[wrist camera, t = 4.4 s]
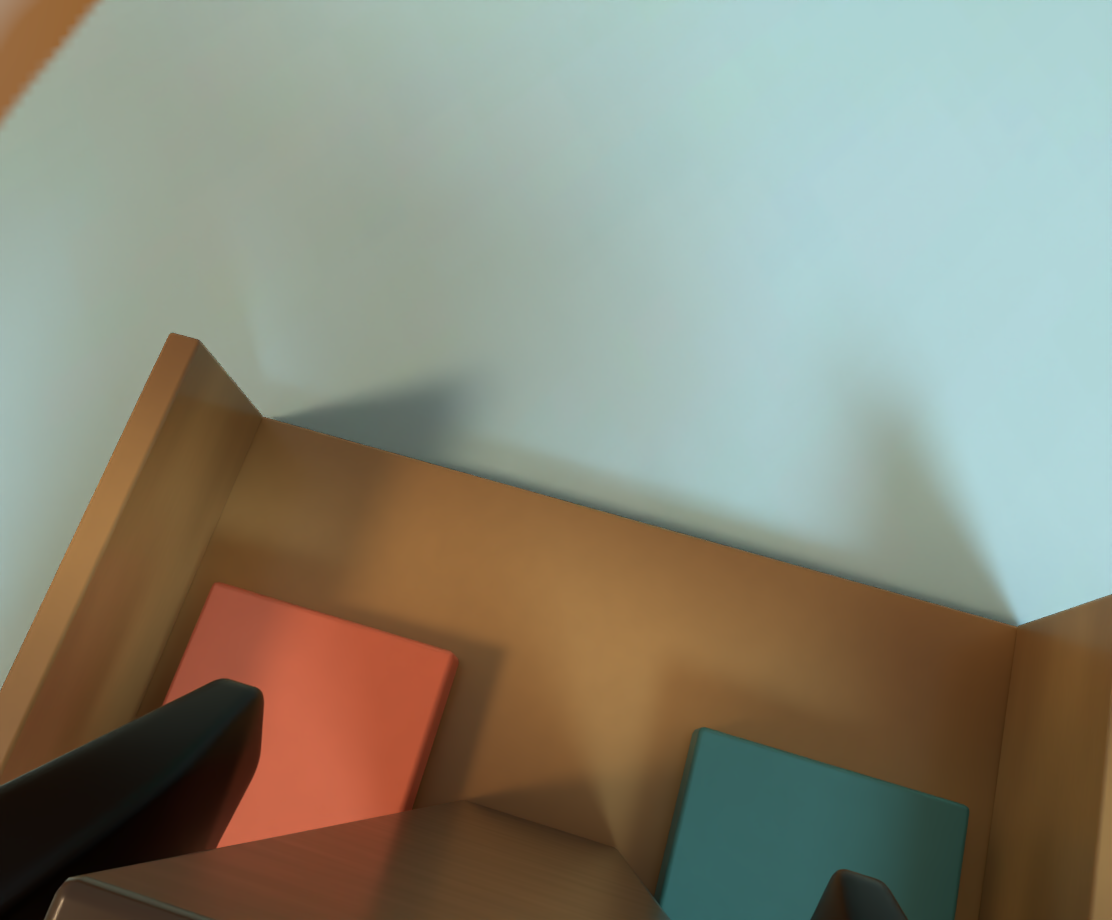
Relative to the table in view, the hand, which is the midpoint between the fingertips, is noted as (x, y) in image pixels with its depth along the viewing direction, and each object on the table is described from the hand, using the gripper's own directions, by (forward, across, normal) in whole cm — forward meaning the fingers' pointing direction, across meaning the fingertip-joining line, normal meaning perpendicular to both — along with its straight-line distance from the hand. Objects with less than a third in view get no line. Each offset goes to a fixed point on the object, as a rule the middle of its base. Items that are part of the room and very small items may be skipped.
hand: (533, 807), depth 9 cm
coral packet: (+4, +4, +5) cm, 7 cm away
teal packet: (+4, -4, +5) cm, 7 cm away
